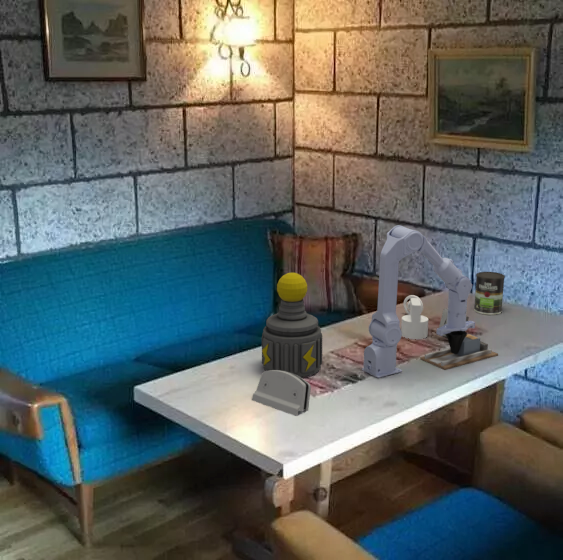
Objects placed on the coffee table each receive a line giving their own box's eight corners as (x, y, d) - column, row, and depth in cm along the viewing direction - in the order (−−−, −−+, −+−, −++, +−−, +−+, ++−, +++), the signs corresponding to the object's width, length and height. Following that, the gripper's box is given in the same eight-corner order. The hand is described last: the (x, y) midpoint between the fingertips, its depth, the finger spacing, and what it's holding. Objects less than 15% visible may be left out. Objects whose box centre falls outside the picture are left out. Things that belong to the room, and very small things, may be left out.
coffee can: (499, 316, 289) (502, 279, 285) (471, 313, 293) (473, 276, 289) (503, 308, 298) (506, 273, 294) (476, 305, 302) (478, 270, 298)
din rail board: (444, 369, 238) (445, 358, 237) (420, 359, 246) (420, 348, 246) (498, 355, 249) (498, 344, 248) (472, 345, 258) (473, 335, 257)
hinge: (250, 399, 217) (258, 364, 217) (261, 400, 220) (269, 365, 220) (297, 416, 206) (305, 379, 206) (307, 416, 210) (315, 379, 210)
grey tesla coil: (283, 384, 227) (283, 284, 219) (249, 364, 242) (248, 270, 234) (335, 371, 237) (336, 275, 229) (299, 353, 252) (300, 262, 244)
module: (463, 357, 246) (464, 341, 244) (453, 352, 249) (454, 337, 248) (479, 352, 249) (480, 337, 248) (469, 348, 253) (470, 333, 252)
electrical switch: (436, 334, 269) (440, 308, 268) (447, 333, 272) (450, 307, 271) (457, 342, 262) (460, 315, 260) (467, 340, 265) (471, 314, 263)
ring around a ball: (400, 315, 291) (401, 294, 289) (408, 311, 295) (409, 291, 293) (420, 319, 286) (421, 298, 284) (427, 315, 290) (428, 294, 288)
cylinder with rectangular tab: (400, 330, 274) (401, 297, 270) (426, 331, 273) (428, 298, 270) (401, 339, 265) (403, 305, 262) (428, 339, 264) (430, 305, 261)
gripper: (448, 319, 236) (446, 361, 239) (483, 311, 243) (480, 352, 247) (432, 313, 242) (430, 354, 245) (466, 305, 249) (464, 346, 253)
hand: (454, 353), depth 246 cm, fingers closed
